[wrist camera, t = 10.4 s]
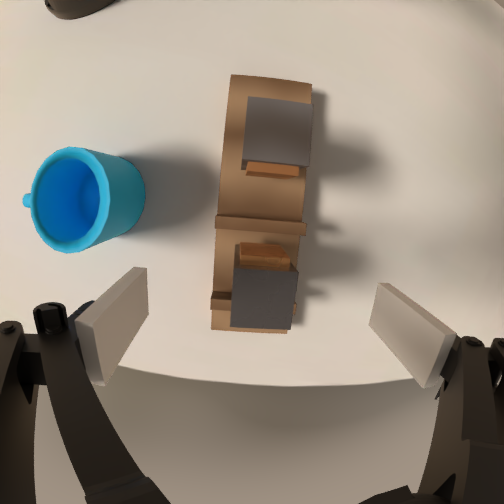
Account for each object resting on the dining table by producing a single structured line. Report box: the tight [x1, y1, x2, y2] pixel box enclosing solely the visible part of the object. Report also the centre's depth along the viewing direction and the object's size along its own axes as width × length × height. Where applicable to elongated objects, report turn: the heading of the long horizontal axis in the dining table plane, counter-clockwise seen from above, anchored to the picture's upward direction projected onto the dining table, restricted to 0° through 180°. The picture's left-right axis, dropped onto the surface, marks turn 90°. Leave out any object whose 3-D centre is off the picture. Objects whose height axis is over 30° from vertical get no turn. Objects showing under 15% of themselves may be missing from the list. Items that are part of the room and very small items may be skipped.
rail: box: [210, 75, 313, 334], centre depth 22 cm, size 24×7×10 cm, turn 175°
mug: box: [23, 147, 145, 253], centre depth 22 cm, size 12×8×8 cm
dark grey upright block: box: [230, 242, 298, 330], centre depth 22 cm, size 5×4×8 cm
